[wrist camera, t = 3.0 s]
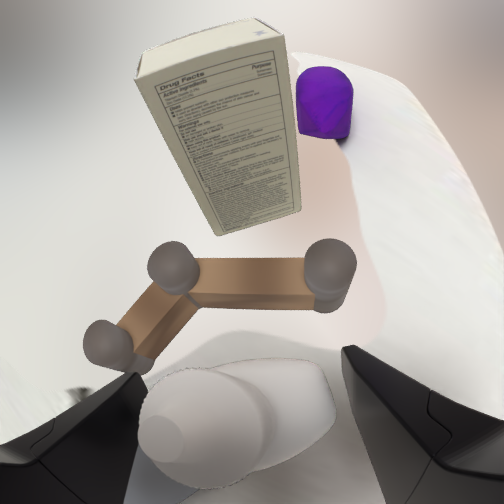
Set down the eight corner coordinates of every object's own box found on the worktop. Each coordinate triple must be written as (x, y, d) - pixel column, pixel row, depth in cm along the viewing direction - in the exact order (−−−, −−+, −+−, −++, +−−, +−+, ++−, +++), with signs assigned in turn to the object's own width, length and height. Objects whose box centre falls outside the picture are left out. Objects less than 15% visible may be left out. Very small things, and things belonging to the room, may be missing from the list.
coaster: (132, 530, 10) (128, 532, 9) (64, 439, 13) (58, 439, 13) (214, 477, 12) (211, 480, 11) (127, 377, 15) (122, 376, 15)
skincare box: (283, 170, 21) (260, 15, 11) (303, 214, 19) (290, 32, 8) (203, 194, 21) (140, 49, 11) (213, 242, 19) (130, 77, 8)
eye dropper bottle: (309, 455, 12) (327, 593, 1) (206, 433, 13) (20, 463, 3) (326, 378, 14) (406, 318, 3) (224, 360, 15) (72, 262, 5)
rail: (195, 452, 12) (163, 465, 9) (113, 349, 16) (73, 333, 13) (353, 290, 16) (366, 258, 12) (250, 216, 19) (239, 175, 16)
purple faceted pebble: (346, 52, 24) (359, 106, 16) (346, 89, 28) (354, 162, 20) (303, 50, 25) (288, 101, 17) (305, 86, 29) (292, 157, 21)
